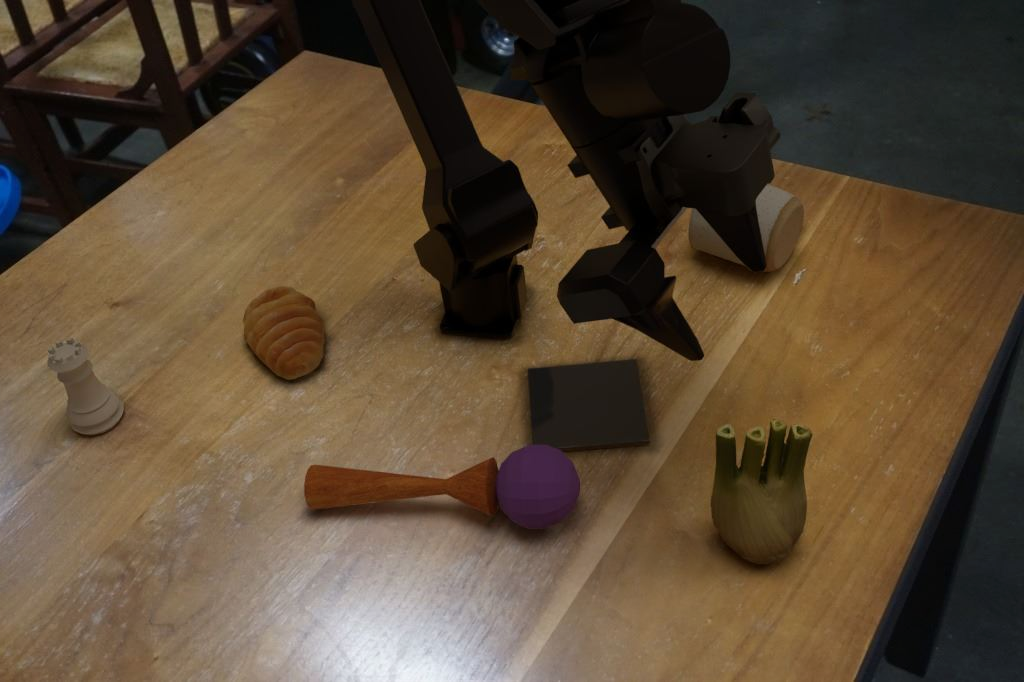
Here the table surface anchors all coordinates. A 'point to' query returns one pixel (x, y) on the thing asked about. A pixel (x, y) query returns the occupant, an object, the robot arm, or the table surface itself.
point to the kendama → (464, 486)
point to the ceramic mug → (777, 228)
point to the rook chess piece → (84, 389)
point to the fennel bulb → (761, 491)
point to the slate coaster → (588, 406)
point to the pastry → (285, 331)
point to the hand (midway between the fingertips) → (730, 313)
